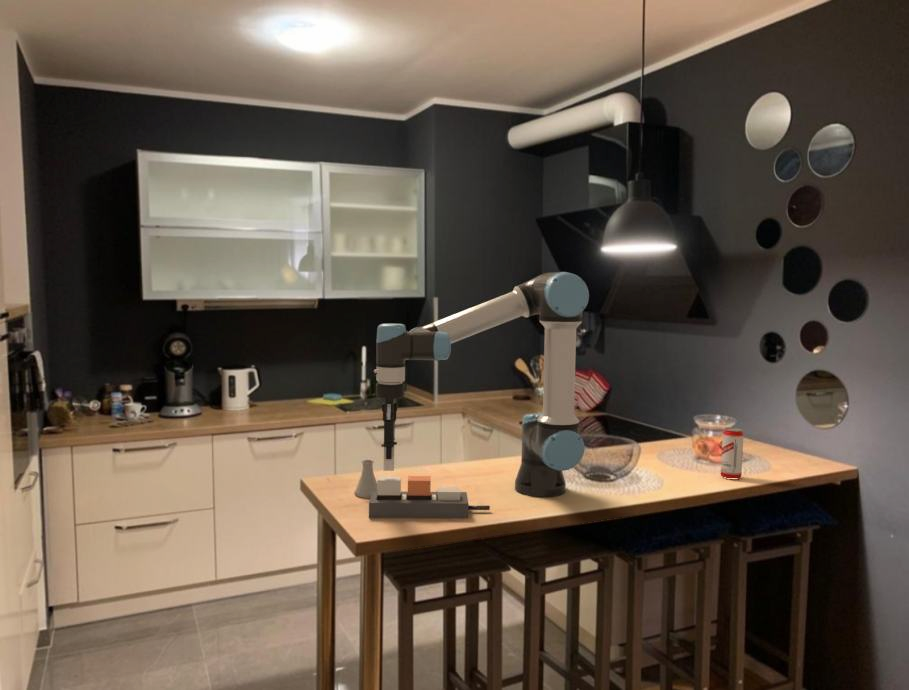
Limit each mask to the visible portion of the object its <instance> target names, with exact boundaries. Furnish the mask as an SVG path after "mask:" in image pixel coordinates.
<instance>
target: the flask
mask: <svg viewBox="0 0 909 690" xmlns="http://www.w3.org/2000/svg"><path fill="white" fill-rule="evenodd" d="M361 463H362V470H361V475H360V478H359V481H358V483H357V485H356V488H355V490H354V493H353V494H354V495H355V496H356V497H358V498H365V499H366V498H367V499H370V497H371V493H372V491H377V479H376V476H375V474H374V465H373V463H374V460H373V459H363V460H362V461H361Z"/></svg>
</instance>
